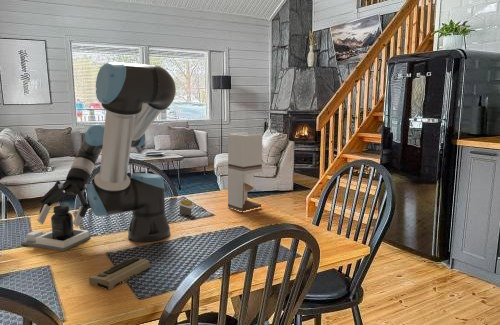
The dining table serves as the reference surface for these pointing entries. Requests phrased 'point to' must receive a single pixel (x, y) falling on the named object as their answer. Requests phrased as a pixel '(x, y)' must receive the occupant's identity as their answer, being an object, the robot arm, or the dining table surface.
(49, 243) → the charging dock
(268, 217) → the dining table surface
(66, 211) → the supplement bottle
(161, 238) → the robot arm
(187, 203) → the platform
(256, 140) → the notched beige pillar
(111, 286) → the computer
